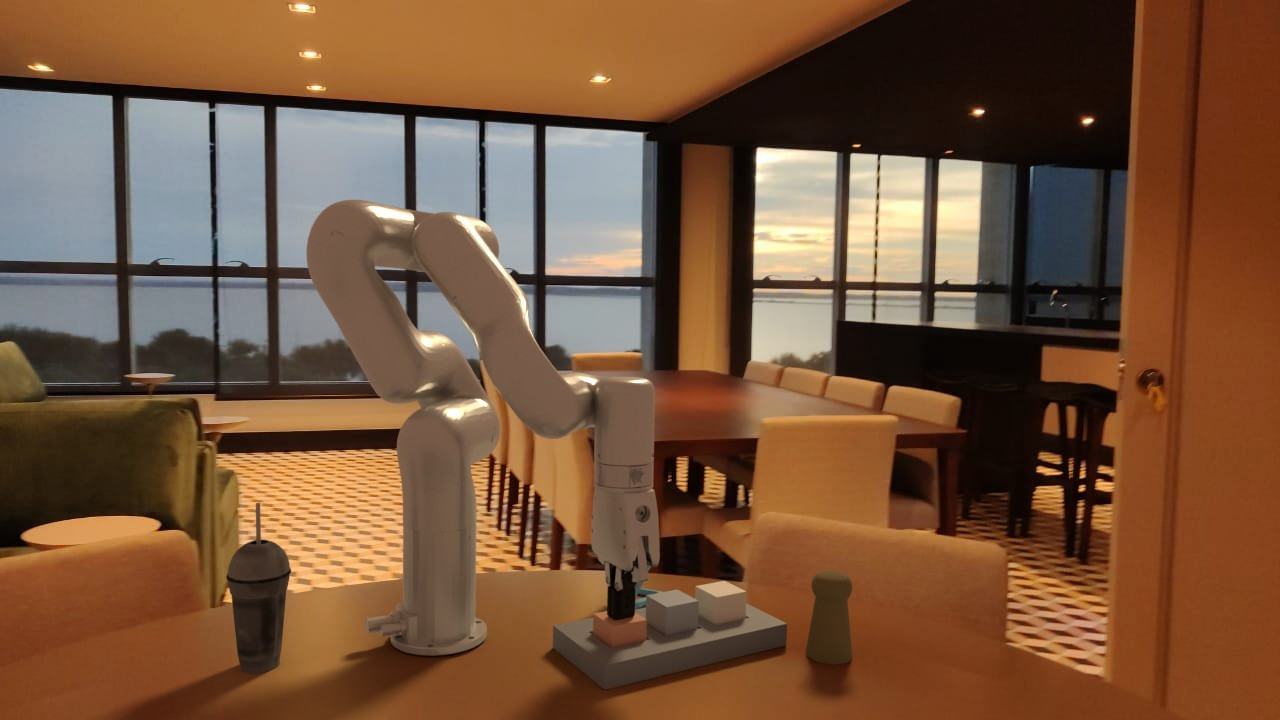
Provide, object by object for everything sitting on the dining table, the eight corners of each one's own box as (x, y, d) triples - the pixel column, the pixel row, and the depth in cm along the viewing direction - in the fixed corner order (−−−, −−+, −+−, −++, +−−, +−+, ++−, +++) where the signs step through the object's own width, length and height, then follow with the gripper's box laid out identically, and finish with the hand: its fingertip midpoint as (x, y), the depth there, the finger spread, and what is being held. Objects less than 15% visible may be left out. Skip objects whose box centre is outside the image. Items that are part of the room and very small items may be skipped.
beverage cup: (228, 682, 103) (226, 515, 101) (225, 659, 109) (224, 501, 108) (294, 671, 106) (294, 509, 104) (288, 649, 112) (287, 496, 111)
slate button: (665, 637, 113) (666, 607, 113) (645, 624, 117) (646, 595, 117) (697, 630, 115) (698, 600, 115) (676, 618, 120) (677, 589, 119)
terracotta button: (611, 658, 109) (612, 626, 108) (592, 643, 113) (593, 613, 113) (646, 650, 111) (646, 619, 111) (626, 636, 116) (626, 607, 115)
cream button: (716, 626, 117) (716, 597, 117) (694, 614, 121) (695, 586, 121) (745, 619, 120) (746, 591, 119) (723, 608, 124) (724, 580, 124)
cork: (853, 666, 112) (857, 582, 111) (805, 661, 113) (808, 577, 112) (851, 648, 118) (855, 567, 117) (805, 643, 119) (809, 564, 118)
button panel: (604, 689, 103) (605, 665, 103) (552, 647, 115) (553, 625, 115) (786, 645, 118) (787, 623, 118) (723, 611, 130) (724, 592, 129)
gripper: (681, 483, 106) (677, 631, 107) (619, 462, 119) (617, 594, 120) (628, 489, 102) (625, 642, 104) (570, 466, 115) (568, 603, 116)
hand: (620, 616), depth 112 cm, fingers closed
